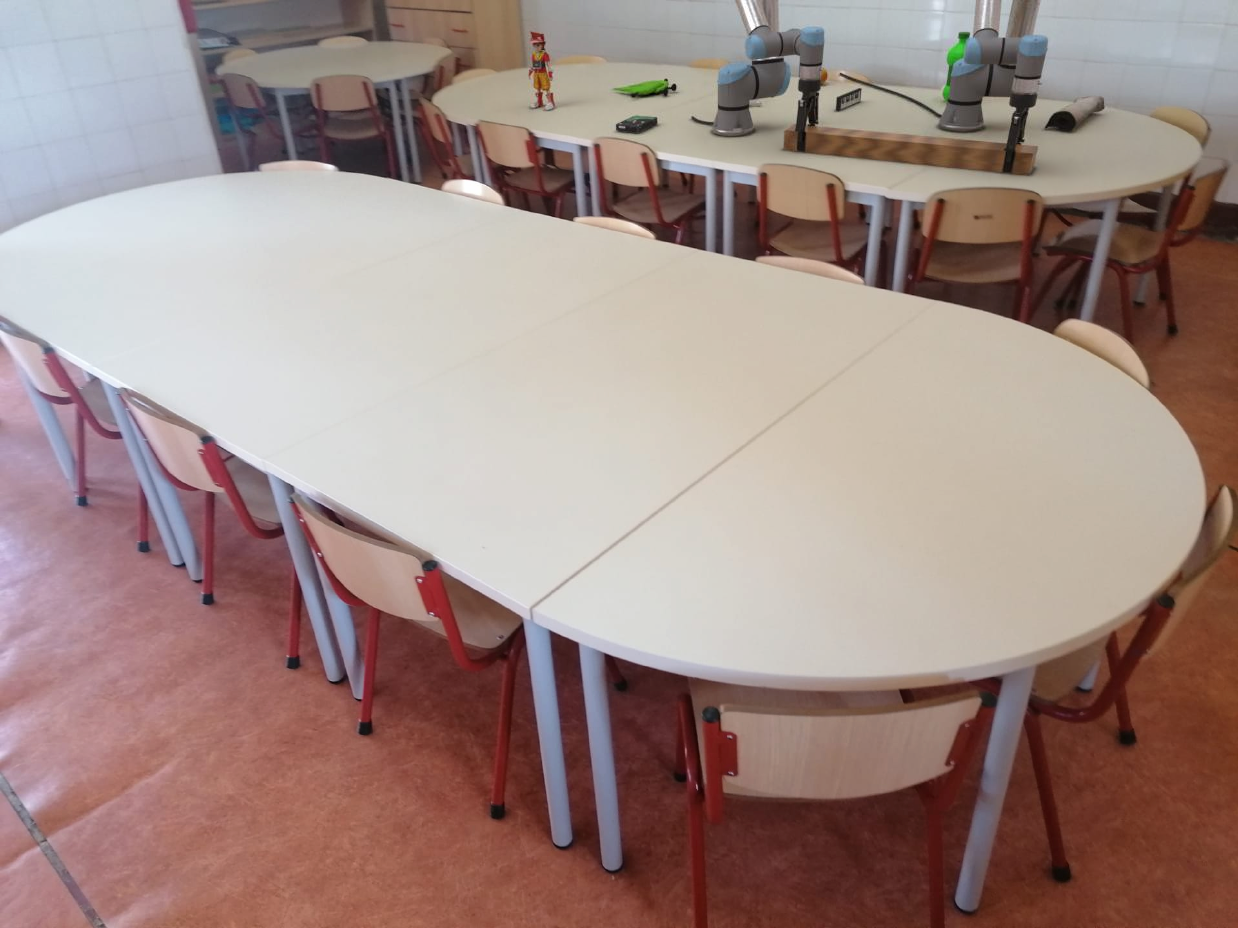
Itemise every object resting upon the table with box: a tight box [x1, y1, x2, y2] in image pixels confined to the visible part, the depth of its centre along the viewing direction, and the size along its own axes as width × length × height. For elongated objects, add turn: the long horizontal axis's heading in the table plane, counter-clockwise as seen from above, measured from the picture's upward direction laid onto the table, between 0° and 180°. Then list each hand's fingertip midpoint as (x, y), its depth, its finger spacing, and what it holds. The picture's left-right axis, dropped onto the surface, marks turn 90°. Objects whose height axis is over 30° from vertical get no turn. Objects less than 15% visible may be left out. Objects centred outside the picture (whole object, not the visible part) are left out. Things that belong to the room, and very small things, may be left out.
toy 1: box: [527, 31, 556, 111], centre depth 374 cm, size 12×9×30 cm
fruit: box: [820, 67, 829, 85], centre depth 389 cm, size 8×8×8 cm
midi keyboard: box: [835, 87, 863, 112], centre depth 357 cm, size 18×1×5 cm, turn 138°
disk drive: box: [615, 114, 658, 134], centre depth 347 cm, size 10×3×15 cm
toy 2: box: [612, 78, 677, 99], centre depth 396 cm, size 28×5×30 cm
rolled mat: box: [1044, 95, 1106, 133], centre depth 322 cm, size 30×9×10 cm
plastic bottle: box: [942, 31, 971, 103], centre depth 348 cm, size 10×10×25 cm
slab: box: [783, 123, 1039, 176], centre depth 297 cm, size 81×8×7 cm, turn 59°
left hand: (805, 147), depth 314 cm, fingers closed on slab, 8 cm apart
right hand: (1009, 167), depth 283 cm, fingers closed on slab, 8 cm apart
